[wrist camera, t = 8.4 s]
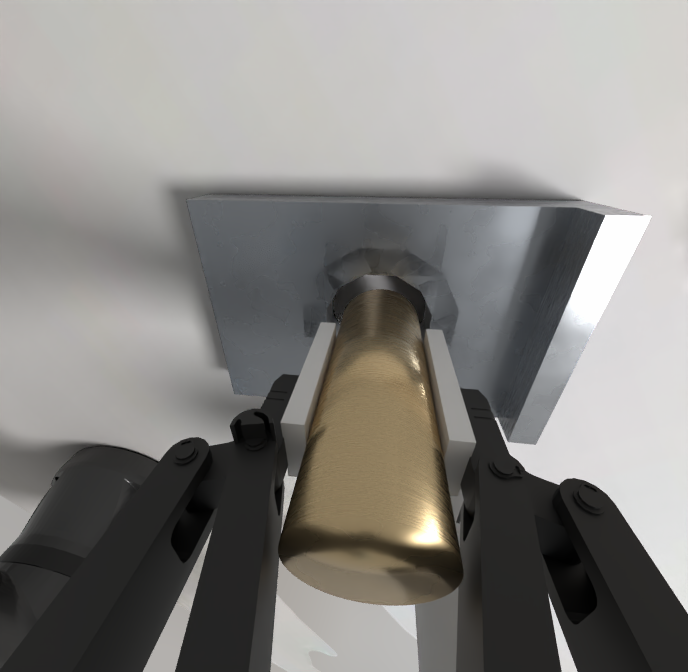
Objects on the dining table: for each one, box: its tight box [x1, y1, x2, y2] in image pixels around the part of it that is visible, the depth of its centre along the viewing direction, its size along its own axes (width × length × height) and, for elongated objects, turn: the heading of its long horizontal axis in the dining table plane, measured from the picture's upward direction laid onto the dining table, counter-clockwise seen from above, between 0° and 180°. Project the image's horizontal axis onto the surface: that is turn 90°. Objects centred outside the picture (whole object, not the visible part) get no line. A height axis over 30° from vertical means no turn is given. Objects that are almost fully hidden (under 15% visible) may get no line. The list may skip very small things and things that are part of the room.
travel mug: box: [415, 488, 562, 672], centre depth 17 cm, size 6×7×20 cm
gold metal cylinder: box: [278, 289, 464, 605], centre depth 12 cm, size 4×4×12 cm
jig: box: [186, 194, 651, 445], centre depth 18 cm, size 20×13×4 cm, turn 90°
